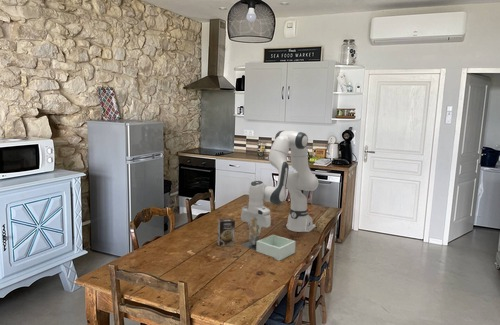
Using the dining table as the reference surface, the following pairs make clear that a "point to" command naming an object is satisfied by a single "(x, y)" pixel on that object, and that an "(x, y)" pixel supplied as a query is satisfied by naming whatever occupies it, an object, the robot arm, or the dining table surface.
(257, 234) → the strut
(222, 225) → the coffee box
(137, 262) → the dining table surface
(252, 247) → the stud plate
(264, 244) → the bin
